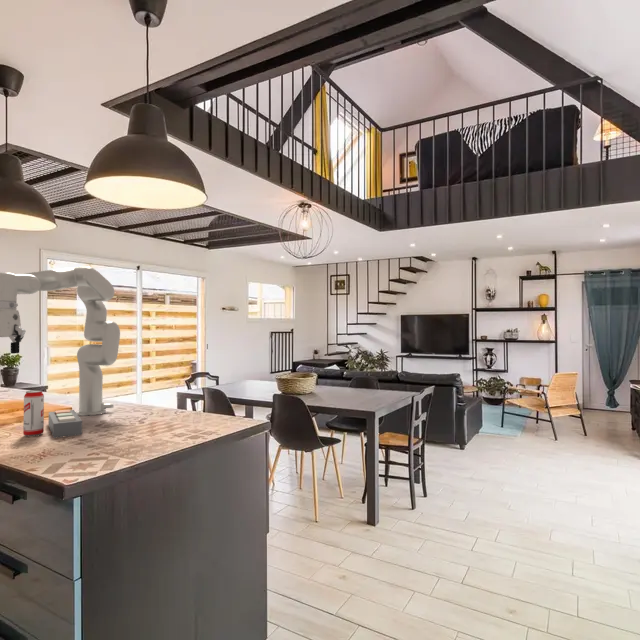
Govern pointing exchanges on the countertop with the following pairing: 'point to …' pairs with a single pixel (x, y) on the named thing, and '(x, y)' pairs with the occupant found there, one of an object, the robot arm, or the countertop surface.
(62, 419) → the cream key
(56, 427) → the keypad
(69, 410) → the terracotta key
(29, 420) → the beer can
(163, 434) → the countertop surface
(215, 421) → the countertop surface
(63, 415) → the sage key
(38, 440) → the countertop surface
